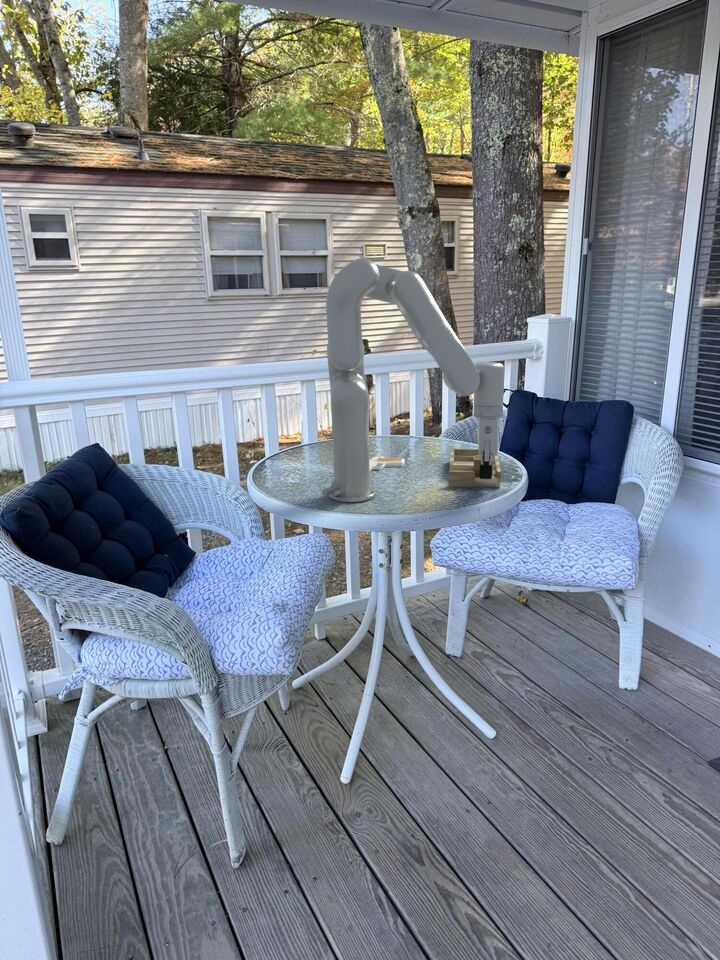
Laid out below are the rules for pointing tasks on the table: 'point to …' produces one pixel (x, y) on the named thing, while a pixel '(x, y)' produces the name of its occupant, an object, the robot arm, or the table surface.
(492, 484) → the tray
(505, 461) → the table surface
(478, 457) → the block
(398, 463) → the pistol
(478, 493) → the table surface
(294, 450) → the table surface
